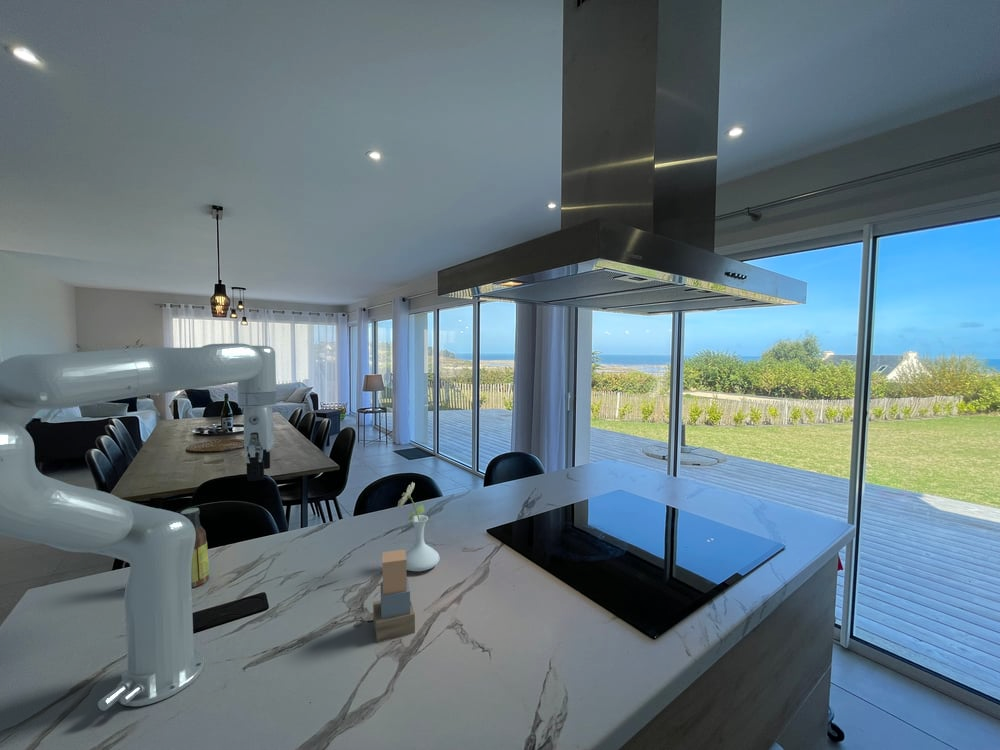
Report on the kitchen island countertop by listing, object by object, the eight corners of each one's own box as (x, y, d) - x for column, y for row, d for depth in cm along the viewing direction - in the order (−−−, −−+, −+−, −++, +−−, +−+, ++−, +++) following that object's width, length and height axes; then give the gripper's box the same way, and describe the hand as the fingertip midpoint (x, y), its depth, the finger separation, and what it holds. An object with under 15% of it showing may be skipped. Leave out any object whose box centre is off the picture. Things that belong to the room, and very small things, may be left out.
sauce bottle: (205, 574, 114) (203, 503, 113) (212, 582, 110) (210, 508, 109) (175, 584, 109) (173, 510, 108) (182, 593, 105) (180, 516, 104)
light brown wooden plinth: (414, 634, 90) (414, 614, 90) (376, 643, 87) (376, 623, 87) (408, 613, 98) (408, 594, 97) (373, 621, 94) (373, 602, 94)
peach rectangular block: (406, 591, 90) (406, 559, 90) (382, 594, 89) (382, 562, 88) (405, 579, 95) (405, 549, 94) (382, 582, 93) (382, 552, 93)
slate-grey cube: (410, 613, 90) (410, 591, 90) (381, 619, 88) (381, 596, 88) (407, 598, 96) (407, 577, 96) (380, 603, 94) (380, 581, 94)
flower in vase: (418, 552, 127) (417, 472, 126) (447, 561, 121) (447, 477, 120) (386, 571, 116) (385, 483, 115) (417, 582, 110) (416, 490, 109)
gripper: (271, 403, 87) (272, 483, 88) (280, 396, 103) (281, 463, 104) (229, 404, 84) (231, 487, 85) (245, 397, 100) (247, 466, 101)
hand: (259, 474), depth 95 cm, fingers open, 9 cm apart
